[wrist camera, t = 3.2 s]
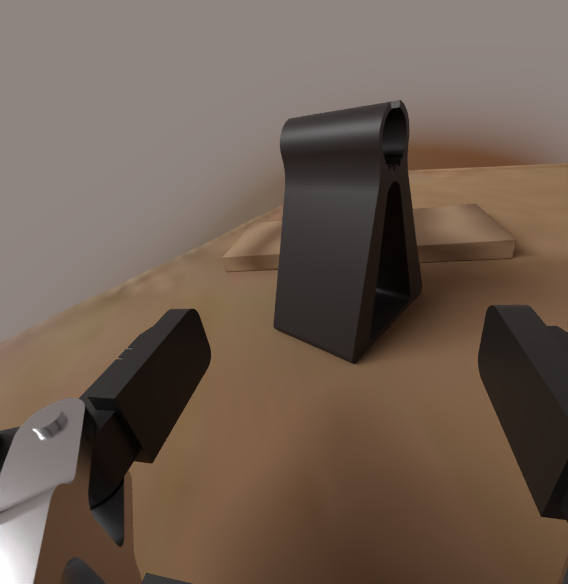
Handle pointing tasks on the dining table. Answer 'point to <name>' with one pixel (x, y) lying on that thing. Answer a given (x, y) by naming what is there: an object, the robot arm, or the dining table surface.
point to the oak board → (429, 235)
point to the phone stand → (346, 228)
